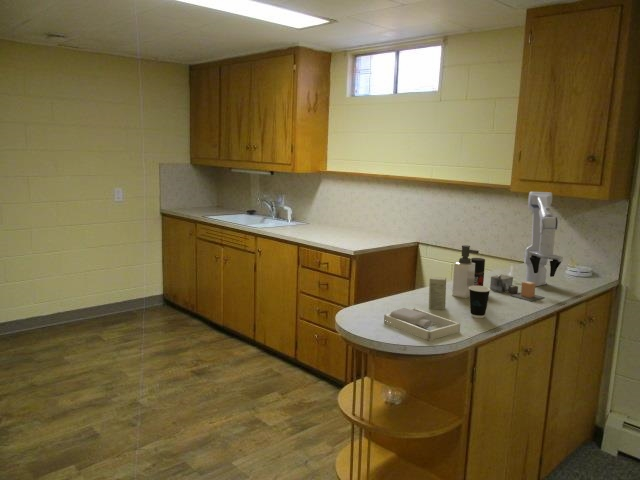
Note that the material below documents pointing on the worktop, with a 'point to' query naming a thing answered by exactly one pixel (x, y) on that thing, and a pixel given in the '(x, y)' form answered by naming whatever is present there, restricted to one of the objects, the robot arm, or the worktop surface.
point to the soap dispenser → (464, 274)
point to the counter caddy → (447, 329)
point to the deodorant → (478, 271)
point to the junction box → (501, 283)
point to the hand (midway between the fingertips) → (543, 274)
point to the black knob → (513, 289)
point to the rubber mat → (527, 298)
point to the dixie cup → (478, 300)
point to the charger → (412, 317)
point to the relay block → (528, 289)
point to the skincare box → (437, 293)
